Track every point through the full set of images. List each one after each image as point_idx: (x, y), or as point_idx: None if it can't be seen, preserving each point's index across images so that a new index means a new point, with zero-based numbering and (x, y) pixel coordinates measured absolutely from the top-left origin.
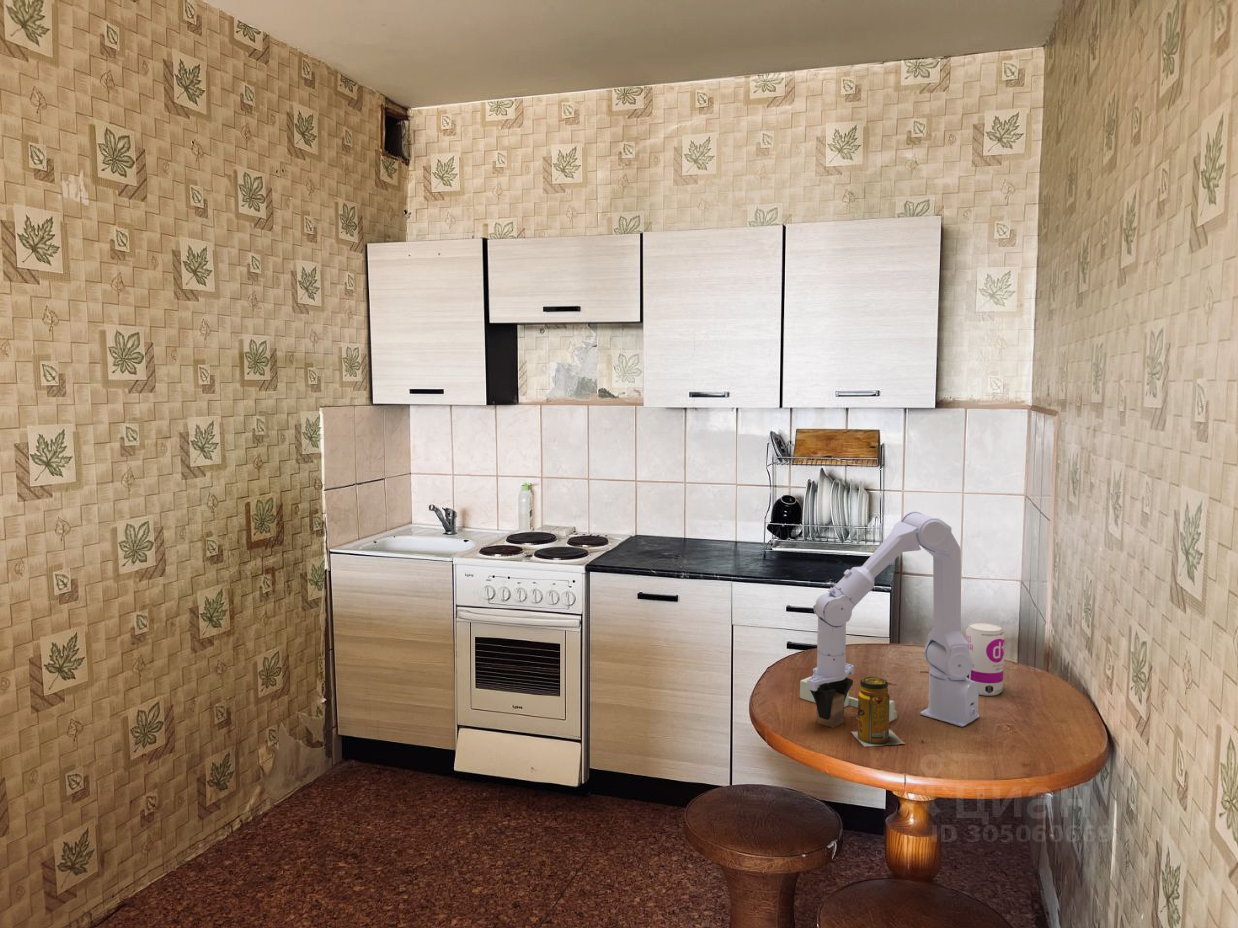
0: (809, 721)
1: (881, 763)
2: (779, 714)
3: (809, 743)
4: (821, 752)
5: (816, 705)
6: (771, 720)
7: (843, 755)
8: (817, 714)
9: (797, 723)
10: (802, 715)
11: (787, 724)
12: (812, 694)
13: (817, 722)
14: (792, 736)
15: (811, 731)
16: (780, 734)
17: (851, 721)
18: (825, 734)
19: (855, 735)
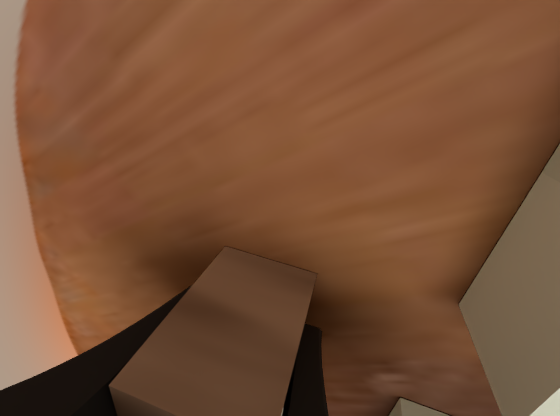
0: (212, 215)
1: None
2: (173, 13)
3: (67, 268)
4: (60, 307)
5: (133, 324)
6: (75, 27)
7: None
8: (204, 275)
9: (153, 174)
10: (257, 154)
11: (109, 136)
12: (20, 384)
13: (224, 250)
14: (53, 204)
15: (137, 251)
16: (25, 157)
17: (331, 361)
18: (156, 297)
19: None
